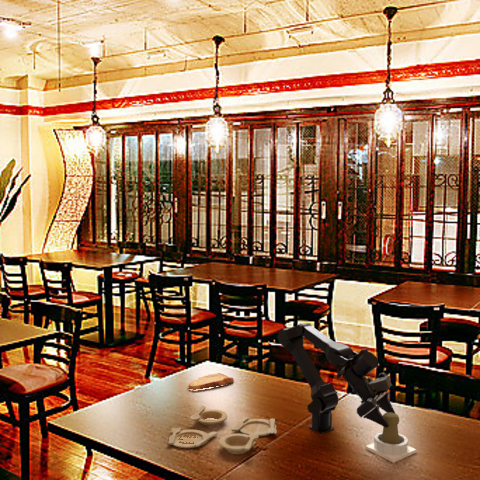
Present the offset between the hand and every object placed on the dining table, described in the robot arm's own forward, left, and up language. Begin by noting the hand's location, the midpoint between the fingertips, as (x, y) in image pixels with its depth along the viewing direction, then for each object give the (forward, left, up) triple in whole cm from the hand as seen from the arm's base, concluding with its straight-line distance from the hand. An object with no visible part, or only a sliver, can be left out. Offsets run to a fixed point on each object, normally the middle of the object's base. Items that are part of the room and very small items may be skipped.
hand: (391, 421), depth 176 cm
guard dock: (0, 0, -9) cm, 9 cm away
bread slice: (-13, +84, -10) cm, 86 cm away
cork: (0, 0, -9) cm, 9 cm away
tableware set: (-36, +41, -10) cm, 56 cm away
